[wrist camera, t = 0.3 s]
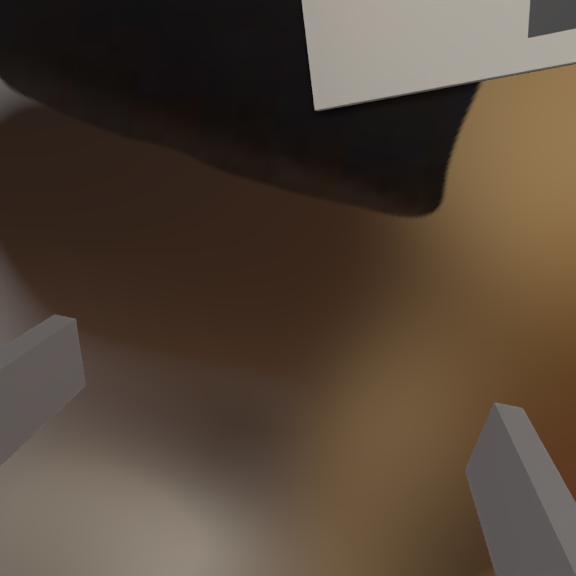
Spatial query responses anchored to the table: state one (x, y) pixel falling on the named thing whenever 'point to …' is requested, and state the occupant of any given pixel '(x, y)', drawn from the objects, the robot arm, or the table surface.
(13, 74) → the table surface
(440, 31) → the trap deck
